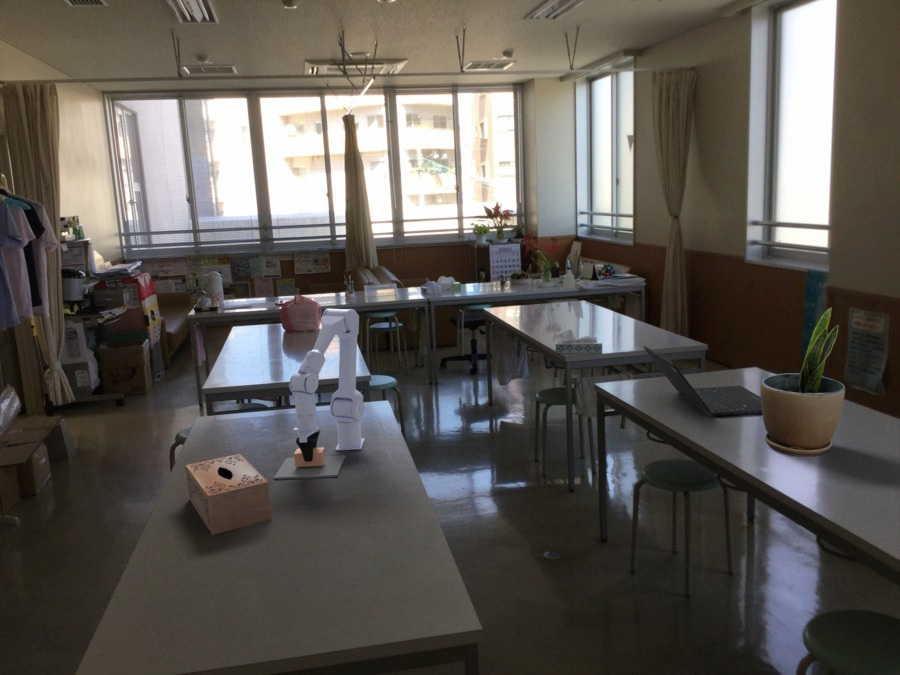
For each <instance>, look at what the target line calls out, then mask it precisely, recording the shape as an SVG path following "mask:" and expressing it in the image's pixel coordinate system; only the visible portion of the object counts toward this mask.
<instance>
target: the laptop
mask: <svg viewBox="0 0 900 675" xmlns="http://www.w3.org/2000/svg"><path fill="white" fill-rule="evenodd" d="M643 349H644V350H645V351H646V353H647V354H648V356H649V357H650V358H651V359H652V361H653V363H654V364H656V366H657V367H658V369H659V370H660V371H661V373H662V374H664V376H665V377H666V378H667V380H668V381H669V382H670V384H671V385H672V386H673V388H674V389H675V390H676V392H678V393H679V394H681V395H682V396H684V397H685V398H687V399H688V400H690V401H691V402H692V403H694V404H696V406H698V407H699V408H701V409H702V410H704V411H705V412H707V413H708V414H709V415H710V416H714V417H721V416H723V417H724V416H726V417H727V416H740V415H741V416H742V415H759V414H762V406H761V395H758V394H756V393H754V392H753V391H751V390H749V389H748V388H746V387H744V386H742V385H731V386H730V385H729V386H714V387H712V386H711V387H710V386H709V387H697V388H696V387H695V388H694V387H693V386H692V385H691V384H690V382H689V381H688V380H687V378H686V377H685V376H684V375H683V373H682V372H681V370H680V369H679V368H678V367H677V365H675V363H673V362H672V361H670V360H669V359H667V358H665V357H663V356H662V355H661V354H659V353H657V352H655V351H654V350H653V349H651V348H649V347H648V346H645V345H644V346H643Z"/></svg>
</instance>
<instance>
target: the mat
mask: <svg viewBox="0 0 900 675" xmlns="http://www.w3.org/2000/svg"><path fill="white" fill-rule="evenodd" d="M346 458H347V457H346V455H327V456H326V455H325V462H324V464H323V466H303V467H295V460H294V457H285V460H284V461H283V462H282V464H281V465H280V468H278V471H277V472H276V474H275V475H274V476H273V480H274V479H278V480H297V479H298V480H299V479H317V478H320V479H321V478H322V477H323V478H337V477H336V476H338V477H339V474H340V472H339V471H341V469H342V467H343V465H344V462H343V461H345V460H346ZM344 459H345V460H344ZM342 464H343V465H342ZM341 466H342V467H341Z"/></svg>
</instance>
